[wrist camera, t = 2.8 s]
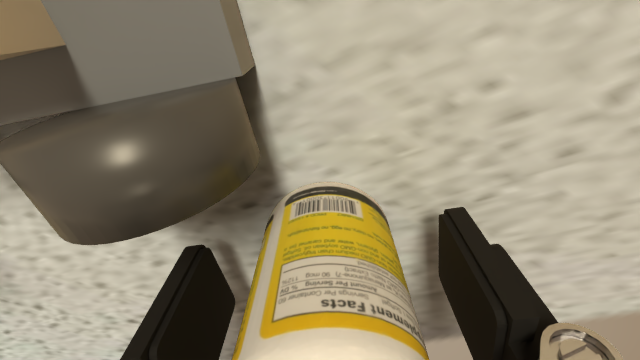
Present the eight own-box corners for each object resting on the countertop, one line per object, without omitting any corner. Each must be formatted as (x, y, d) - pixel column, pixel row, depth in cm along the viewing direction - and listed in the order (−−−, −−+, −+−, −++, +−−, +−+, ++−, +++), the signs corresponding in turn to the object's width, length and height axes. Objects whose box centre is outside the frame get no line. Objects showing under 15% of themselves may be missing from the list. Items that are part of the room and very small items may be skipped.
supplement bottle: (325, 287, 14) (325, 608, 6) (243, 228, 12) (117, 569, 5) (412, 230, 12) (548, 582, 5) (330, 152, 10) (341, 507, 3)
